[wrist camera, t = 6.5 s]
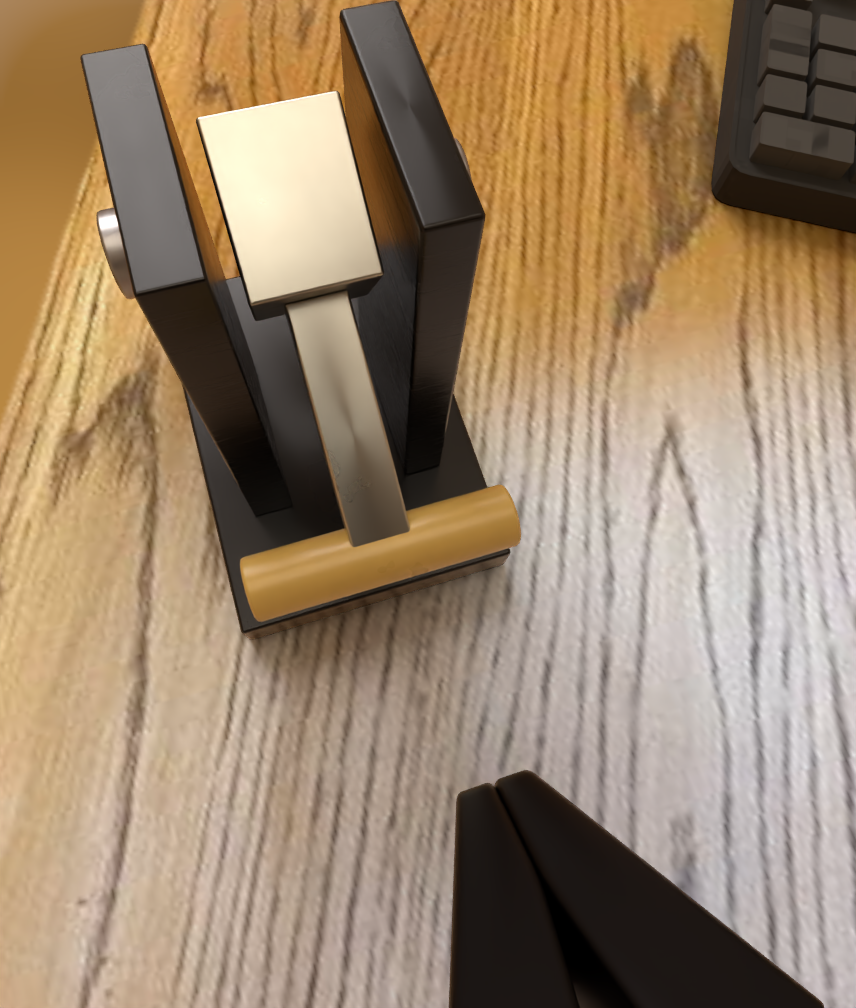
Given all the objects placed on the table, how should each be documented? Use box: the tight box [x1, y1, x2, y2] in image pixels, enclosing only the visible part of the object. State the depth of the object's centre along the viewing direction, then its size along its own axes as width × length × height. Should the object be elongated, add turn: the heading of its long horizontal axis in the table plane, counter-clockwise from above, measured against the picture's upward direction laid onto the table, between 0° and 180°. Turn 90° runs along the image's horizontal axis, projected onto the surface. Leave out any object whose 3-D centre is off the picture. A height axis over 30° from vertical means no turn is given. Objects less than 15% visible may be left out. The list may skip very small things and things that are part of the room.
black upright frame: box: [81, 0, 510, 640], centre depth 16 cm, size 10×7×11 cm
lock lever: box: [196, 91, 521, 622], centre depth 13 cm, size 8×5×2 cm, turn 18°
